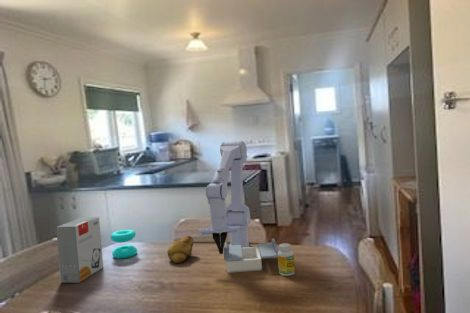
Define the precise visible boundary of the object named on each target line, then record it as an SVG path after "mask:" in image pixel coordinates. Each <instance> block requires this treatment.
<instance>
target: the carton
mask: <svg viewBox="0 0 470 313" xmlns="http://www.w3.org/2000/svg"><path fill="white" fill-rule="evenodd" d="M241 250H242V260H236V261H225V263H226V273H227V274H231V273H232V274H233V273H244V272H245V273H246V272H256V271H257V272H258V271H263V265H262V264H263V263H262V258H261V254H260V250H259V246H258V245H257V246H249V247H243V248H241Z"/></svg>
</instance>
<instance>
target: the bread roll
mask: <svg viewBox="0 0 470 313" xmlns="http://www.w3.org/2000/svg"><path fill="white" fill-rule="evenodd" d="M193 246H194V237H192V236H190V235H186V236H184V237H183V238H180V240H175V241H173V242H171V243H170V245H169V246H168V249H167V256H168V259H169V260H171V261H172V262H173V263H176V264H177V263H178V264H179V263H183V262H185V261H186V259H188V258H189V259H190V257H191V255H192V251H193Z"/></svg>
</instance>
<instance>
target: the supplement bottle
mask: <svg viewBox="0 0 470 313" xmlns="http://www.w3.org/2000/svg"><path fill="white" fill-rule="evenodd" d="M278 249H279V251H278V257H277V263H278V264H277V265H278V273H279V275H281V276H284V277H285V276H286V277H288V276H292V275H294V274H295V271H296V270H295V269H296V268H295V256H294V255H295V253H294V251H293V250H292V245H291V243H285V242H284V243H279V245H278Z"/></svg>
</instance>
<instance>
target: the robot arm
mask: <svg viewBox="0 0 470 313" xmlns="http://www.w3.org/2000/svg"><path fill="white" fill-rule="evenodd" d="M247 150H248V149H247V144H246V143H245V141H243V140H242V141H231V142H229V141H228V142H227V141H226V142H225V141H223V142H221V143H220V146H219V154H220V156H221V159H220V165H219V167H217V168H216V169H215V171H214V174H213V177H212V180H211V182H210V183H209V184H207V186H206V189H205V195H206V196H205V197H206V199H207V203H208V205H209V212H210V225H211V226H210V227H205V228H200V229H199V230H198V232H199V233H198V234H199V236H206V235H212V239H213V241H214V243H215V244H216V247H217V250H218V252H219V255H224V244H225V242H226V240H227V237H228V234H229V242H230V243H229V246H232V245H241V248H243V247H250V244H249V240H248V237H249V236H248V228H247V227H249V225H250V224H251V213H250V208H249V206H248V205H246V204H245V203H244V202H243V201H244V200H243V199H244V198H243V197H244V195H243V194H244V192H243V190H244V188H243V186H244V184H243V182H244V181H243V179H244V178H243V175H244V173H243V170H244V163H246V162H247V159H248V158H247V155H248V154H247ZM230 169H231V170H230ZM229 179H230V204H229V205H227V206H226V198H227V196H228V188H229V187H228V183H229Z"/></svg>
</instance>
